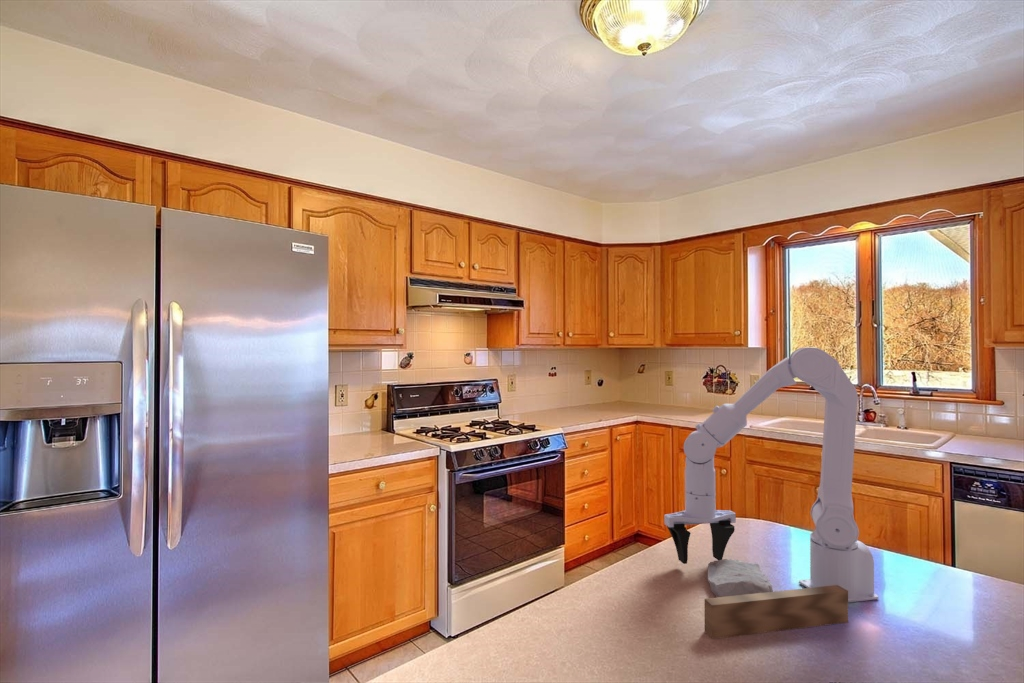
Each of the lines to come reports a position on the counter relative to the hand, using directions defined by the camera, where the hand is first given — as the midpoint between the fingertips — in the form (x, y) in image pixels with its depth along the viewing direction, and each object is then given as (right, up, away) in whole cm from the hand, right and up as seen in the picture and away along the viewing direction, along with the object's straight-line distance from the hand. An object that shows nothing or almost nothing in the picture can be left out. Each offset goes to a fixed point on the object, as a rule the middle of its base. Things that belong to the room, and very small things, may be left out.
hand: (700, 560), depth 99 cm
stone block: (+3, -2, -9) cm, 9 cm away
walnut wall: (+4, -1, -21) cm, 22 cm away
